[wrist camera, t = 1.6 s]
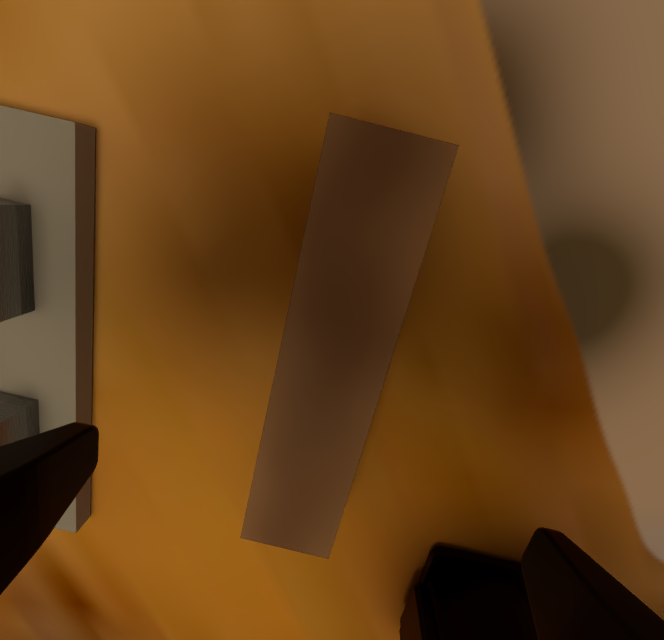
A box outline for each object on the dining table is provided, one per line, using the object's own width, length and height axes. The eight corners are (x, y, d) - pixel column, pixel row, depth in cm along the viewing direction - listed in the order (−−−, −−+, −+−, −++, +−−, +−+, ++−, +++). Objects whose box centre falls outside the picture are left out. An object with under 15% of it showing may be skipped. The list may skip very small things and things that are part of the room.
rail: (432, 160, 13) (458, 145, 10) (333, 491, 18) (328, 559, 14) (336, 135, 13) (329, 112, 10) (262, 474, 18) (240, 538, 14)
